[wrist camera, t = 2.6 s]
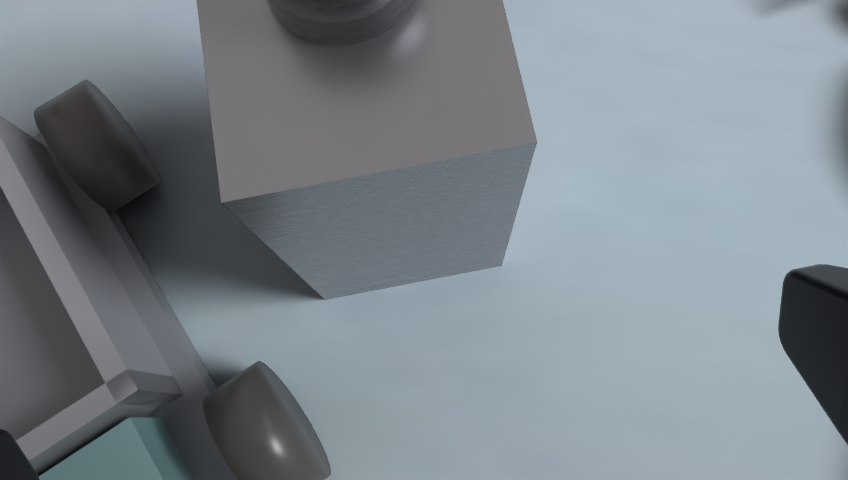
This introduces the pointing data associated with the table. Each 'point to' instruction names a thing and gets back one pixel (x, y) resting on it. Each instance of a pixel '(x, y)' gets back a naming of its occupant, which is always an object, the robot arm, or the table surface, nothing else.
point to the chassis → (115, 326)
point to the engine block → (369, 134)
